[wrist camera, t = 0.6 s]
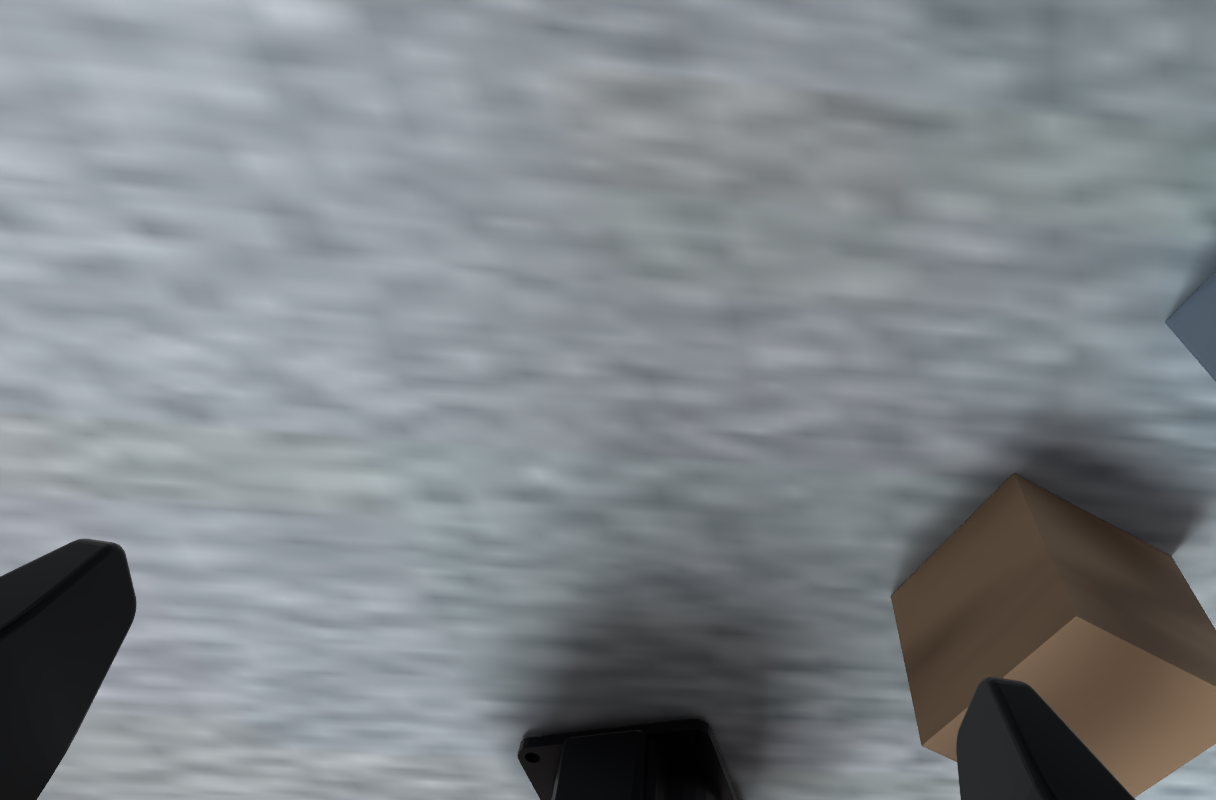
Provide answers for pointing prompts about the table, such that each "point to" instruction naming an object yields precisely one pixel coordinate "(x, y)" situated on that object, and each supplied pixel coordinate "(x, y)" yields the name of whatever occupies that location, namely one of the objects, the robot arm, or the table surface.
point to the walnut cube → (1062, 633)
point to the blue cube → (1198, 325)
